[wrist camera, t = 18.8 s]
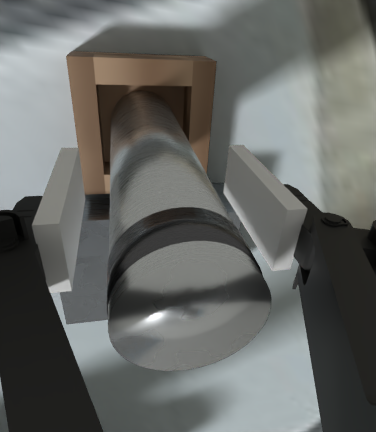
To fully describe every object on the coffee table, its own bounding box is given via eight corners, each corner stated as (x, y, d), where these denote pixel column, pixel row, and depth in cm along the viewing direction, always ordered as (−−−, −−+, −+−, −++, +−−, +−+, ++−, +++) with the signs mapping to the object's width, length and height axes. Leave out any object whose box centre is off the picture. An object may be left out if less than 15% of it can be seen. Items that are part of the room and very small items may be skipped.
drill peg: (112, 154, 24) (112, 381, 10) (107, 89, 22) (97, 265, 7) (173, 152, 25) (257, 359, 11) (175, 90, 23) (289, 249, 8)
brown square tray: (87, 177, 26) (84, 194, 23) (71, 51, 21) (66, 56, 19) (196, 173, 27) (205, 189, 25) (205, 56, 23) (216, 61, 20)
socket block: (72, 282, 31) (66, 324, 27) (56, 189, 26) (45, 223, 22) (213, 269, 34) (227, 305, 29) (223, 182, 28) (242, 211, 24)
